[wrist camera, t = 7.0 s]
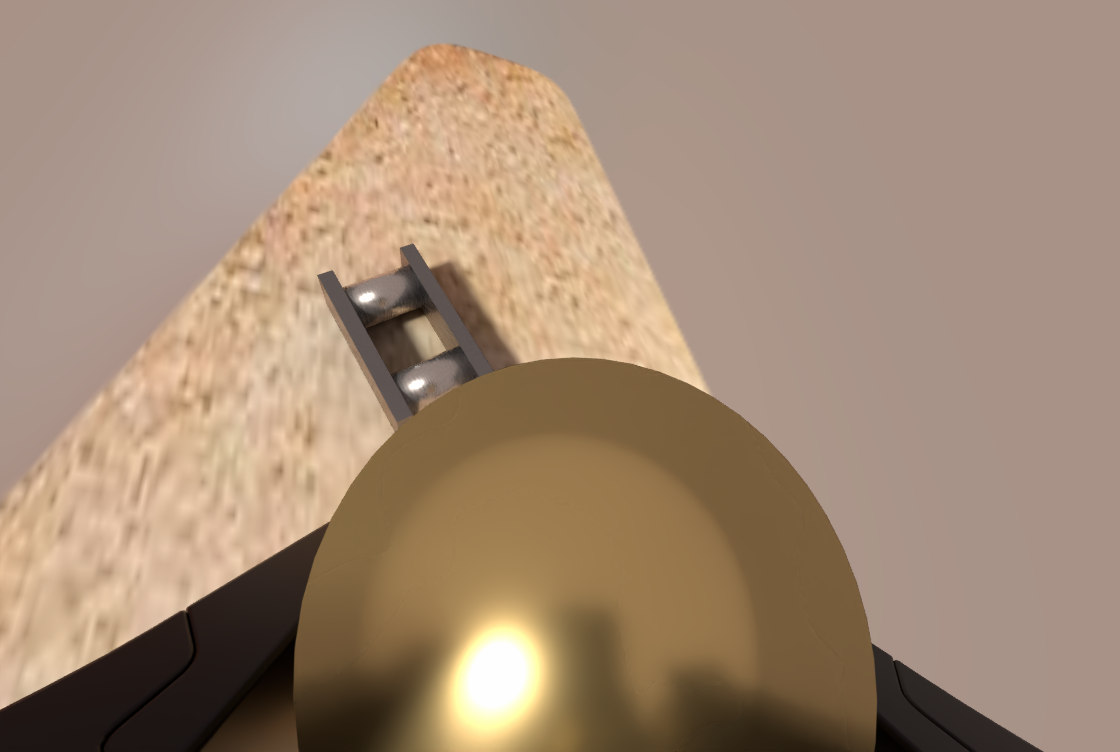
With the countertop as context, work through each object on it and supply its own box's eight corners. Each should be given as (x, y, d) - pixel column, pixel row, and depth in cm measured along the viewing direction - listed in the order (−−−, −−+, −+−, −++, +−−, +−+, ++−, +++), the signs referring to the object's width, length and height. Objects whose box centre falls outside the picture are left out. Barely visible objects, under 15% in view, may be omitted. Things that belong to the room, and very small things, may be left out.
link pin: (538, 784, 13) (835, 1191, 3) (365, 697, 13) (124, 825, 3) (606, 593, 15) (899, 482, 5) (458, 521, 15) (481, 285, 5)
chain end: (492, 398, 22) (496, 375, 20) (400, 442, 20) (396, 422, 19) (415, 273, 24) (413, 243, 22) (327, 304, 23) (317, 275, 21)
